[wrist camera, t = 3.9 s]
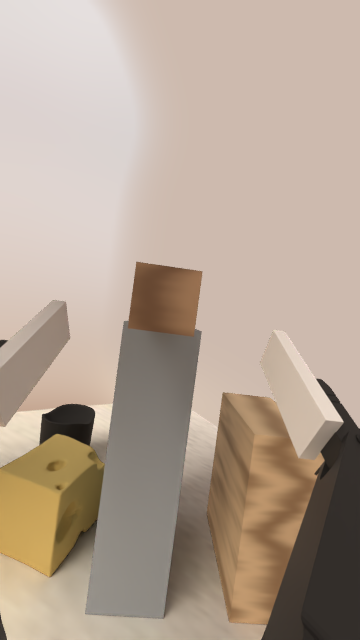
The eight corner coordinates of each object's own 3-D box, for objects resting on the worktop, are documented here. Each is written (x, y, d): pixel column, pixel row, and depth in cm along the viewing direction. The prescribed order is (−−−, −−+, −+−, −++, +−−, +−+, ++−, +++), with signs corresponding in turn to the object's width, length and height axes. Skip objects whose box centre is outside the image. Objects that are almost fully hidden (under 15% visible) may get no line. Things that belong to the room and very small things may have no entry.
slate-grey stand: (85, 613, 24) (123, 321, 24) (114, 505, 38) (139, 319, 38) (163, 618, 25) (201, 331, 24) (164, 509, 39) (188, 326, 38)
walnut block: (127, 328, 14) (136, 261, 14) (152, 321, 39) (155, 297, 39) (193, 336, 14) (202, 271, 14) (176, 324, 39) (179, 300, 39)
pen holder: (94, 471, 45) (101, 419, 45) (38, 486, 40) (45, 428, 40) (81, 446, 53) (87, 402, 53) (32, 456, 47) (39, 407, 47)
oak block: (229, 622, 25) (254, 434, 25) (206, 512, 39) (222, 392, 39) (302, 626, 25) (327, 441, 25) (253, 516, 39) (269, 397, 39)
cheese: (103, 513, 36) (112, 449, 36) (47, 587, 26) (58, 497, 26) (49, 491, 39) (57, 431, 39) (-22, 550, 29) (-11, 468, 29)
